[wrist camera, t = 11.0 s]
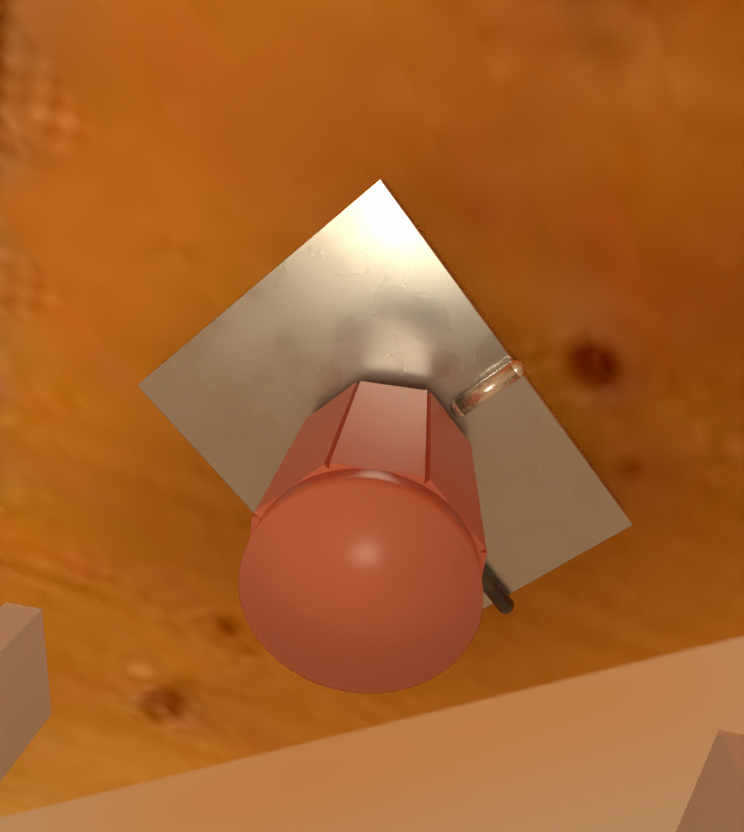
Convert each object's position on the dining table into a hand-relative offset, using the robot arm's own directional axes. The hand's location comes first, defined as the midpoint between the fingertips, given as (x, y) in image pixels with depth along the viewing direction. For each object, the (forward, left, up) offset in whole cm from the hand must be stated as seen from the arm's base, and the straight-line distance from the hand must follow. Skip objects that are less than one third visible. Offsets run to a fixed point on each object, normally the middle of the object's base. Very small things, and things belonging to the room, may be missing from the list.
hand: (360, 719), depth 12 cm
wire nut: (0, 0, -12) cm, 12 cm away
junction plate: (0, 0, -14) cm, 14 cm away
